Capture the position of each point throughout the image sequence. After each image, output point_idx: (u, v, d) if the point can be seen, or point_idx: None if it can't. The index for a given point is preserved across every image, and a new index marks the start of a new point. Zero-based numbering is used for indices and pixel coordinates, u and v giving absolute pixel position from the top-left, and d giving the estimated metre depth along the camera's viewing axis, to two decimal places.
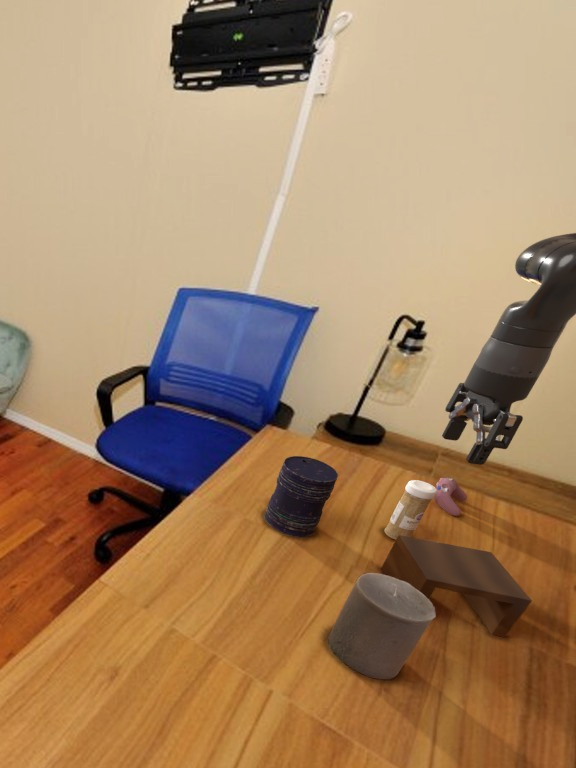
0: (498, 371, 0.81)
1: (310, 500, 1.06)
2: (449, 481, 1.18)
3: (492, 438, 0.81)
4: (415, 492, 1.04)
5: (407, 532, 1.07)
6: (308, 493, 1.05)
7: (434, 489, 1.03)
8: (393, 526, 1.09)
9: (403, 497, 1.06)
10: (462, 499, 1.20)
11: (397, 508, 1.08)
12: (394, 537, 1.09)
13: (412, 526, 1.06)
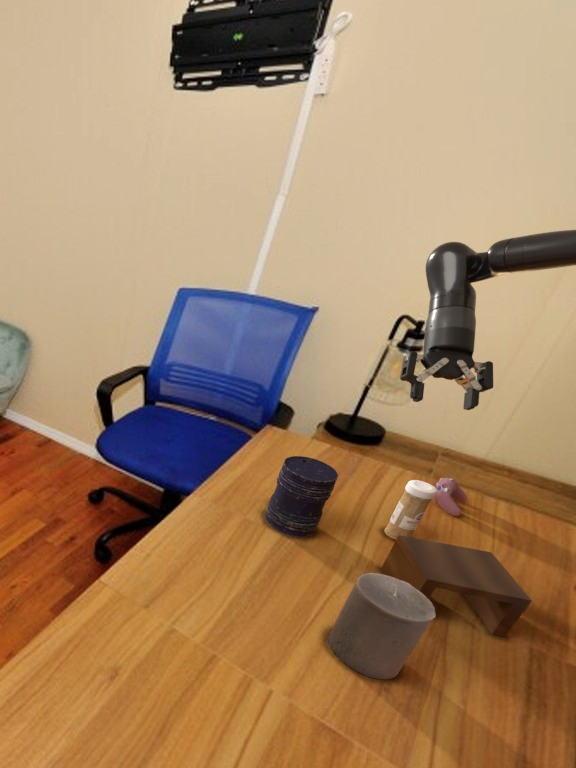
0: None
1: (310, 500, 1.06)
2: (449, 481, 1.18)
3: None
4: (415, 492, 1.04)
5: (407, 532, 1.07)
6: (308, 493, 1.05)
7: (434, 489, 1.03)
8: (393, 526, 1.09)
9: (403, 497, 1.06)
10: (462, 499, 1.20)
11: (397, 508, 1.08)
12: (394, 537, 1.09)
13: (412, 526, 1.06)
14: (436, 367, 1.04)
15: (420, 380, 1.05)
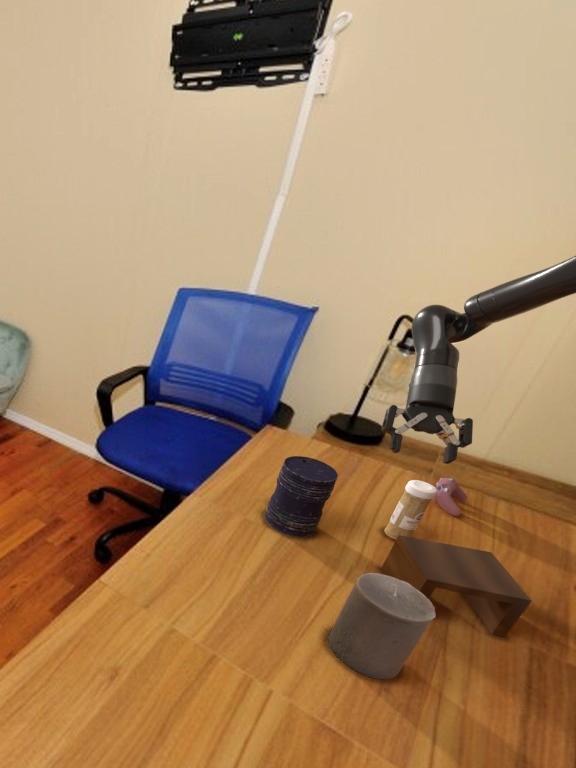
0: None
1: (310, 500, 1.06)
2: (449, 481, 1.18)
3: None
4: (415, 492, 1.04)
5: (407, 532, 1.07)
6: (308, 493, 1.05)
7: (434, 489, 1.03)
8: (393, 526, 1.09)
9: (403, 497, 1.06)
10: (462, 499, 1.20)
11: (397, 508, 1.08)
12: (394, 537, 1.09)
13: (412, 526, 1.06)
14: (415, 421, 1.09)
15: (398, 432, 1.10)
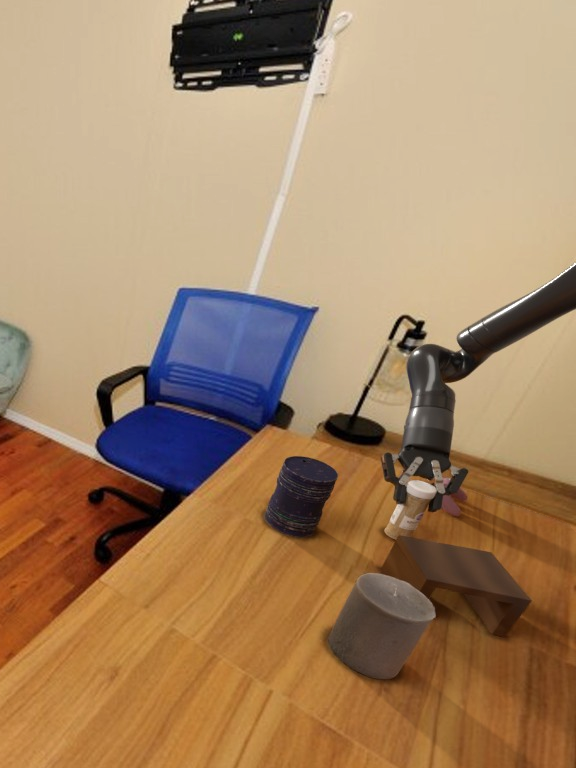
0: None
1: (310, 500, 1.06)
2: None
3: None
4: (415, 492, 1.04)
5: (407, 532, 1.07)
6: (308, 493, 1.05)
7: (434, 489, 1.03)
8: (393, 526, 1.09)
9: None
10: (462, 499, 1.20)
11: (397, 508, 1.08)
12: (394, 537, 1.09)
13: (412, 526, 1.06)
14: (413, 467, 1.06)
15: (403, 483, 1.06)
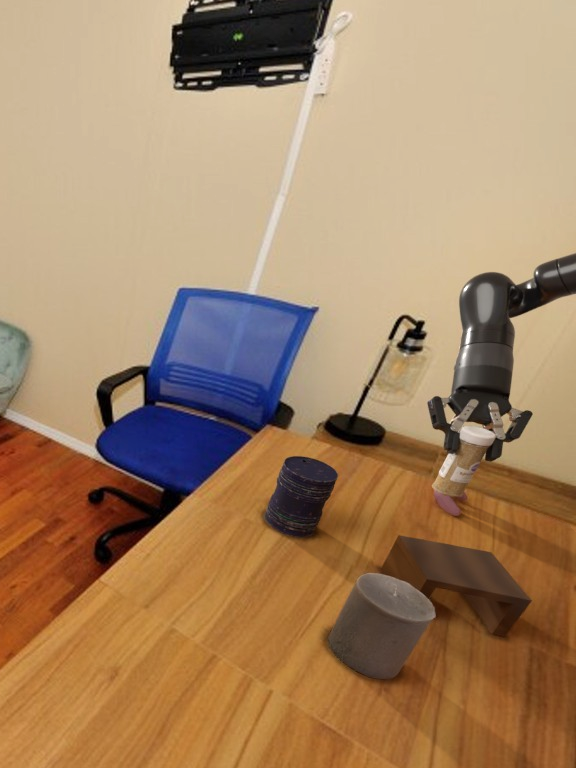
0: None
1: (310, 500, 1.06)
2: None
3: (431, 421, 0.96)
4: (471, 438, 0.90)
5: (460, 486, 0.94)
6: (308, 493, 1.05)
7: (492, 434, 0.90)
8: (442, 480, 0.96)
9: None
10: (462, 499, 1.20)
11: (448, 459, 0.95)
12: (444, 492, 0.96)
13: (466, 478, 0.93)
14: (467, 411, 0.93)
15: (455, 429, 0.93)
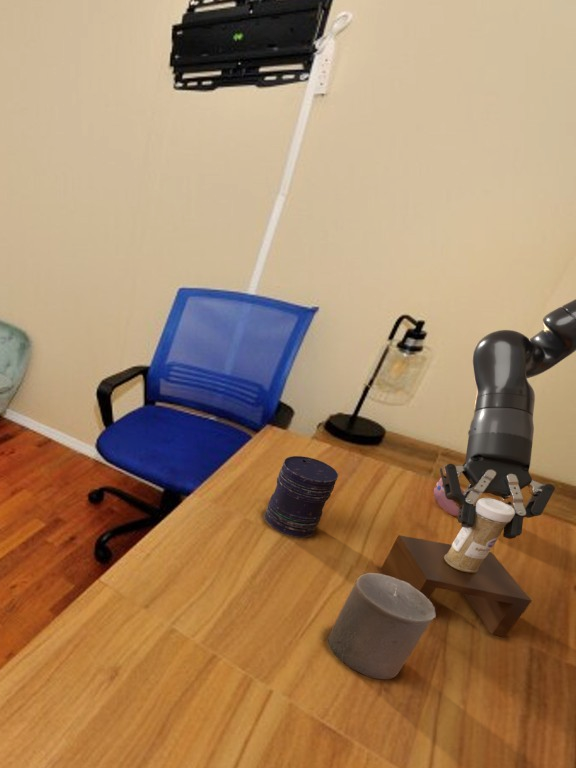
0: None
1: (310, 500, 1.06)
2: None
3: (444, 489, 0.90)
4: (488, 513, 0.84)
5: (475, 561, 0.87)
6: (308, 493, 1.05)
7: (512, 510, 0.83)
8: (456, 554, 0.89)
9: None
10: None
11: (462, 532, 0.88)
12: (458, 567, 0.89)
13: (482, 554, 0.86)
14: (484, 483, 0.86)
15: (471, 502, 0.86)
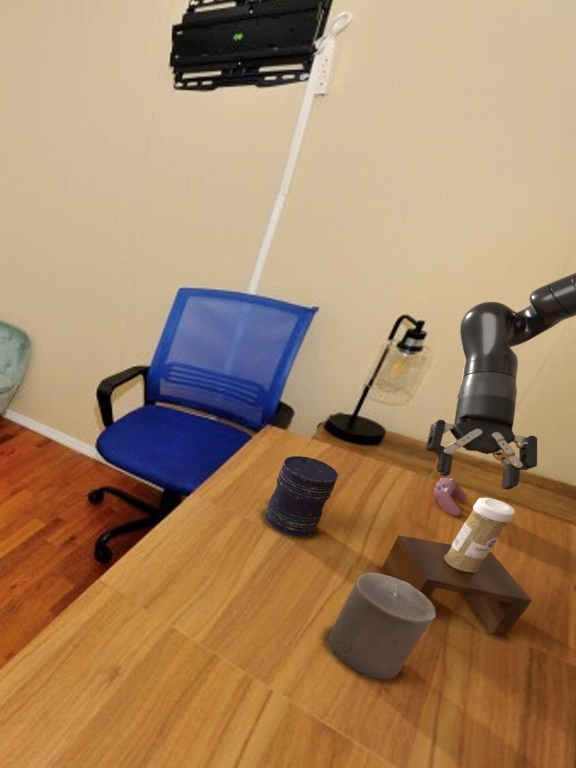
0: None
1: (310, 500, 1.06)
2: (449, 481, 1.18)
3: (427, 442, 0.98)
4: (488, 513, 0.84)
5: (475, 561, 0.87)
6: (308, 493, 1.05)
7: (512, 510, 0.83)
8: (456, 554, 0.89)
9: (470, 519, 0.87)
10: (462, 499, 1.20)
11: (462, 532, 0.88)
12: (458, 567, 0.89)
13: (482, 554, 0.86)
14: (467, 438, 0.94)
15: (448, 452, 0.94)
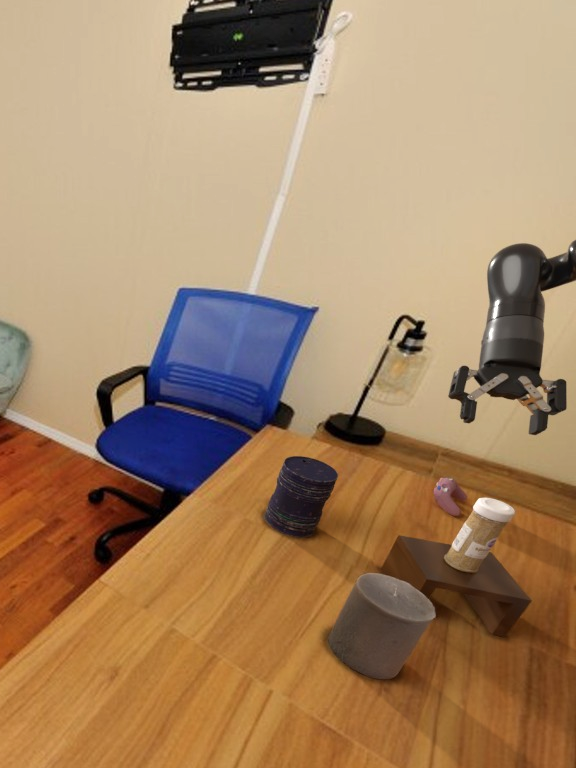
0: None
1: (310, 500, 1.06)
2: (449, 481, 1.18)
3: None
4: (488, 513, 0.84)
5: (475, 561, 0.87)
6: (308, 493, 1.05)
7: (512, 510, 0.83)
8: (456, 554, 0.89)
9: (470, 519, 0.87)
10: (462, 499, 1.20)
11: (462, 532, 0.88)
12: (458, 567, 0.89)
13: (482, 554, 0.86)
14: (492, 384, 0.90)
15: (472, 398, 0.91)
